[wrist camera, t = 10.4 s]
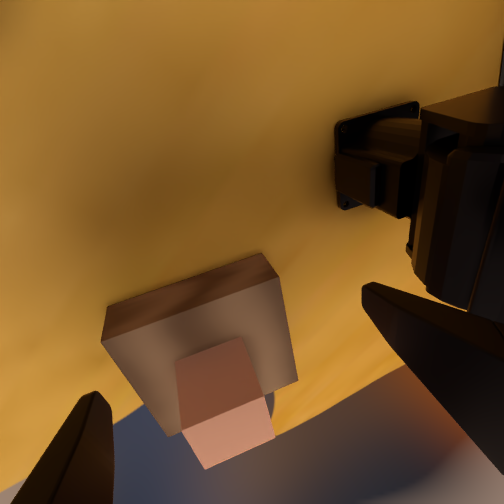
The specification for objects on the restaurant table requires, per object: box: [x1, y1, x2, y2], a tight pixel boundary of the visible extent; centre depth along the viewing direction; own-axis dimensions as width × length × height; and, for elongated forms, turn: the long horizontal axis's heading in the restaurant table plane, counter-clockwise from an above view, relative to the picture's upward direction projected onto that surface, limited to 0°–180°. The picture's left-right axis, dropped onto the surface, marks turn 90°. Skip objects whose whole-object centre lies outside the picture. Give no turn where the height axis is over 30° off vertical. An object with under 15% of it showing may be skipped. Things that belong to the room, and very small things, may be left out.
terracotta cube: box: [175, 337, 275, 469], centre depth 20 cm, size 5×5×5 cm
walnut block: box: [101, 253, 298, 437], centre depth 23 cm, size 12×12×4 cm
